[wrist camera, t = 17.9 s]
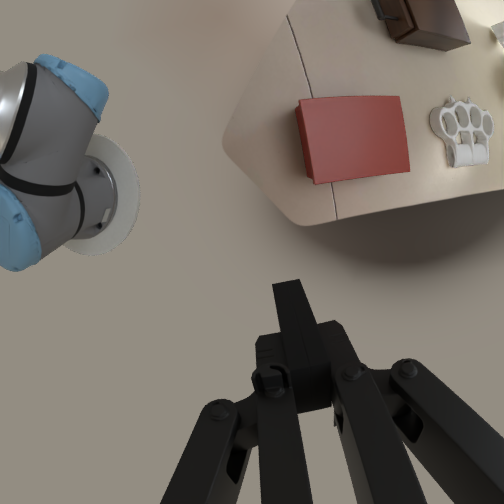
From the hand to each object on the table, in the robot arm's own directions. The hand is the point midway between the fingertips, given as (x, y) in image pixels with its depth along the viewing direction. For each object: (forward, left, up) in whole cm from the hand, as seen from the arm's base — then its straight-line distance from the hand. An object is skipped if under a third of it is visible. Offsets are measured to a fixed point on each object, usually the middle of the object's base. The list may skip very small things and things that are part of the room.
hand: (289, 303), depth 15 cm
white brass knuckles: (+40, +20, -33) cm, 55 cm away
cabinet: (+28, +41, -32) cm, 59 cm away
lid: (+12, +12, -24) cm, 30 cm away
